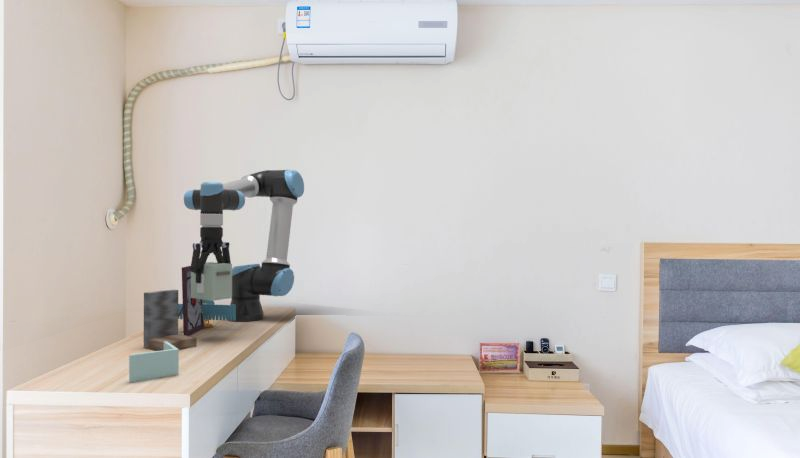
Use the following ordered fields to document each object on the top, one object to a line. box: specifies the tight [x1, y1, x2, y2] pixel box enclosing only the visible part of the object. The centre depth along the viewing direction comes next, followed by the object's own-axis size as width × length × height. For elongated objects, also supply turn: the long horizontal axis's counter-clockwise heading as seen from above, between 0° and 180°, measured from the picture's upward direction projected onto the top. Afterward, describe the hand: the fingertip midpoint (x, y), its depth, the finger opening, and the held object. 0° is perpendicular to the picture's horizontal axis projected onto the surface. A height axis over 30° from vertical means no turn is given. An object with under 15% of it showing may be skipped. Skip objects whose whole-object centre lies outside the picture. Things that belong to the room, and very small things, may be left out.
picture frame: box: [178, 265, 205, 336], centre depth 206 cm, size 17×10×25 cm, turn 179°
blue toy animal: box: [178, 299, 236, 328], centre depth 216 cm, size 28×9×15 cm, turn 86°
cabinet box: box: [191, 261, 233, 301], centre depth 194 cm, size 8×13×12 cm, turn 56°
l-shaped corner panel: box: [128, 341, 180, 383], centre depth 151 cm, size 12×12×8 cm
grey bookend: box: [143, 289, 197, 351], centre depth 182 cm, size 11×12×18 cm
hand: (211, 291), depth 194 cm, fingers closed on cabinet box, 8 cm apart
